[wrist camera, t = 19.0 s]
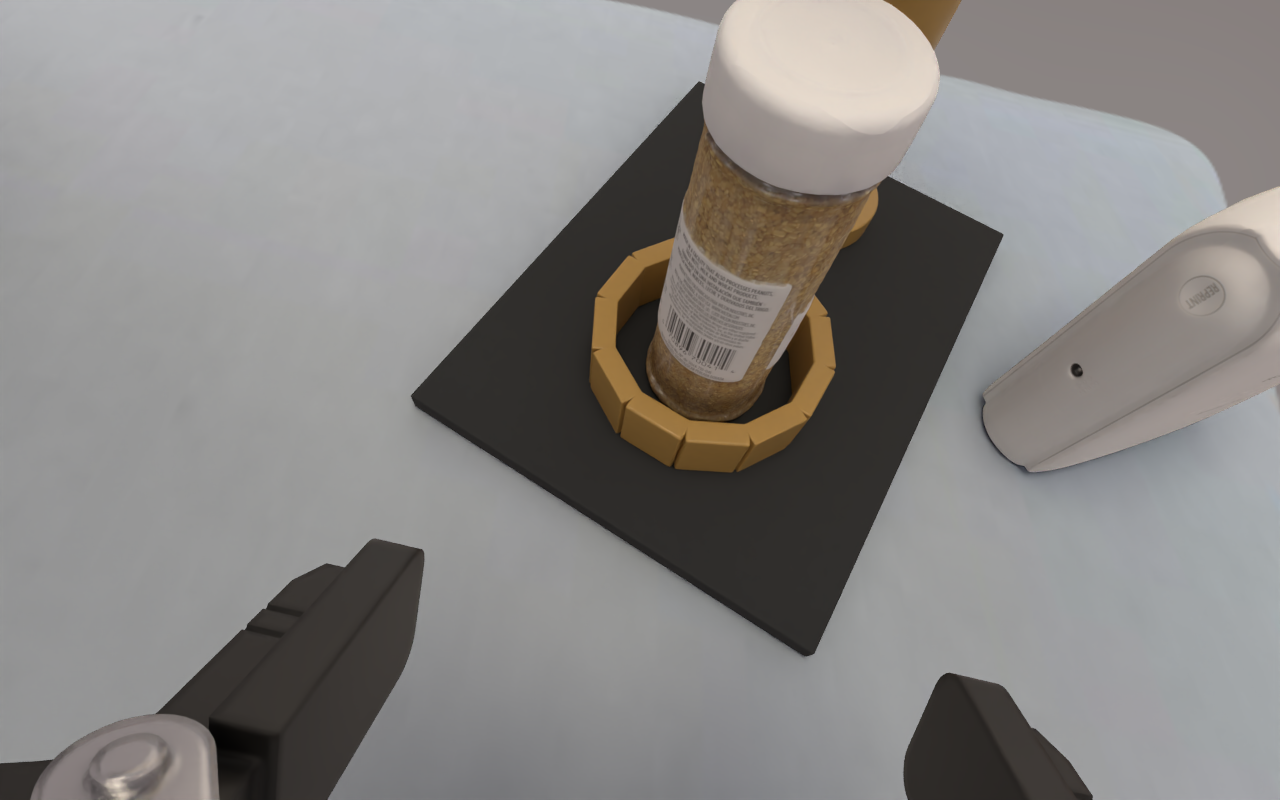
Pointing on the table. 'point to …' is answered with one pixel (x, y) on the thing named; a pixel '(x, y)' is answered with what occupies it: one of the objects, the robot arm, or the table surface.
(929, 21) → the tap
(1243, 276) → the photo printer
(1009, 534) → the table surface
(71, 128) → the table surface
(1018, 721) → the robot arm
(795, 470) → the drip mat
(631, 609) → the table surface
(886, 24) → the sprinkles bottle
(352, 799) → the table surface
